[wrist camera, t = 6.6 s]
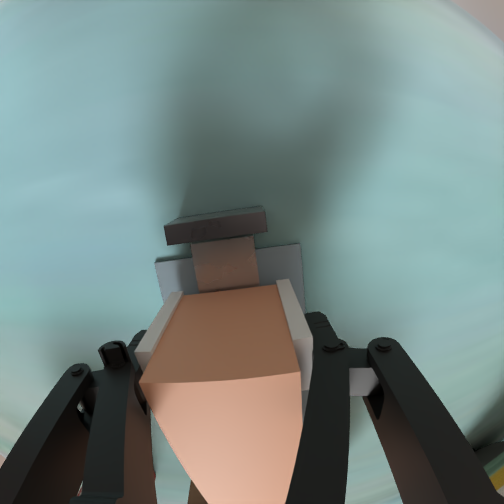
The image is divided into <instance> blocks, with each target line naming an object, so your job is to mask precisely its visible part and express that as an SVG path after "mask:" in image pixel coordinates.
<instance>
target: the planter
mask: <svg viewBox="0 0 504 504" xmlns="http://www.w3.org/2000/svg"><path fill="white" fill-rule="evenodd" d="M474 453H475V454H476V456H477V457H478V459H479V461H480V463H481V464H482V466H483V468H484V469H485V471H486V473H487V475H488V476H489V478H490V480H491V482H492V484H493V485H494V487H495V489H496V491H497V492H498V493H499V494H501V495H502V496H503V497H504V441H502V442H497V443H494V444H491V445H488V446H485V447H483V448H481V449H479V450H477V451H476V452H474Z"/></svg>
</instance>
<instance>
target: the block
mask: <svg viewBox="0 0 504 504" xmlns="http://www.w3.org/2000/svg"><path fill="white" fill-rule="evenodd" d="M139 384H140V387H141V389H142V391H143V393H144V395H145V397H146V400H147V402H148V404H149V406H150V408H151V410H152V412H153V414H154V416H155V418H156V420H157V422H158V424H159V426H160V428H161V429H162V431H163V433H164V435H165V437H166V439H167V440H168V442H169V444H170V446H171V447H172V449H173V451H174V453H175V454H176V456H177V458H178V459H179V461H180V462H181V464H182V466H183V467H184V469H185V470H186V472H187V474H188V475H189V477H190V478H191V480H192V481H193V483H194V484H195V486H196V487H197V489H198V490H199V491H200V493H201V494H202V496H203V497H204V499H205V500H206V501H207V503H208V504H285V502H286V498H287V494H288V490H289V486H290V482H291V478H292V474H293V470H294V465H295V461H296V456H297V452H298V447H299V442H300V437H301V432H302V427H303V423H302V395H301V373H300V368H299V364H298V361H297V357H296V353H295V350H294V346H293V342H292V339H291V335H290V331H289V328H288V324H287V320H286V317H285V313H284V309H283V306H282V302H281V299H280V295H279V292H278V288H277V284H274V285H267V286H259V287H252V288H244V289H236V290H227V291H219V292H210V293H201V294H192V295H183V297H182V299H181V300H180V302H179V304H178V306H177V308H176V310H175V312H174V314H173V316H172V318H171V320H170V321H169V323H168V325H167V327H166V329H165V331H164V333H163V335H162V337H161V339H160V341H159V343H158V345H157V347H156V349H155V351H154V353H153V355H152V356H151V359H150V361H149V363H148V365H147V367H146V369H145V371H144V373H143V375H142V377H141V379H140V381H139Z"/></svg>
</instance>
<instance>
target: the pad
mask: <svg viewBox="0 0 504 504" xmlns="http://www.w3.org/2000/svg"><path fill="white" fill-rule="evenodd" d="M255 252H256V260H257V267H258V275H259V283H260V286H267V285H274V284H276V280H283V279H289V280H290V283H291V285H292V288H293V290H294V292H295V295H296V297H297V300H298V302H299V304H300V307H301V309H302V312H303V314H306V313H305V297H304V283H303V270H302V258H301V247H300V243H298V244H290V245H282V246H275V247H267V248H260V249H255ZM154 264H155V269H156V273H157V277H158V282H159V286H160V290H161V294H162V298H163V302H164V303H165V301H166V300H167V298H168V297H169V295H170V294H171V292H178V291H183V292H184V295H192V294H200V293H199V288H198V284H197V279H196V273H195V268H194V263H193V258H192V257H191V258H184V259H176V260H169V261H161V262H155V263H154ZM308 392H309V390H304V391H301V395H302V423H303V421H304V416H305V410H306V405H307V399H308Z"/></svg>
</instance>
